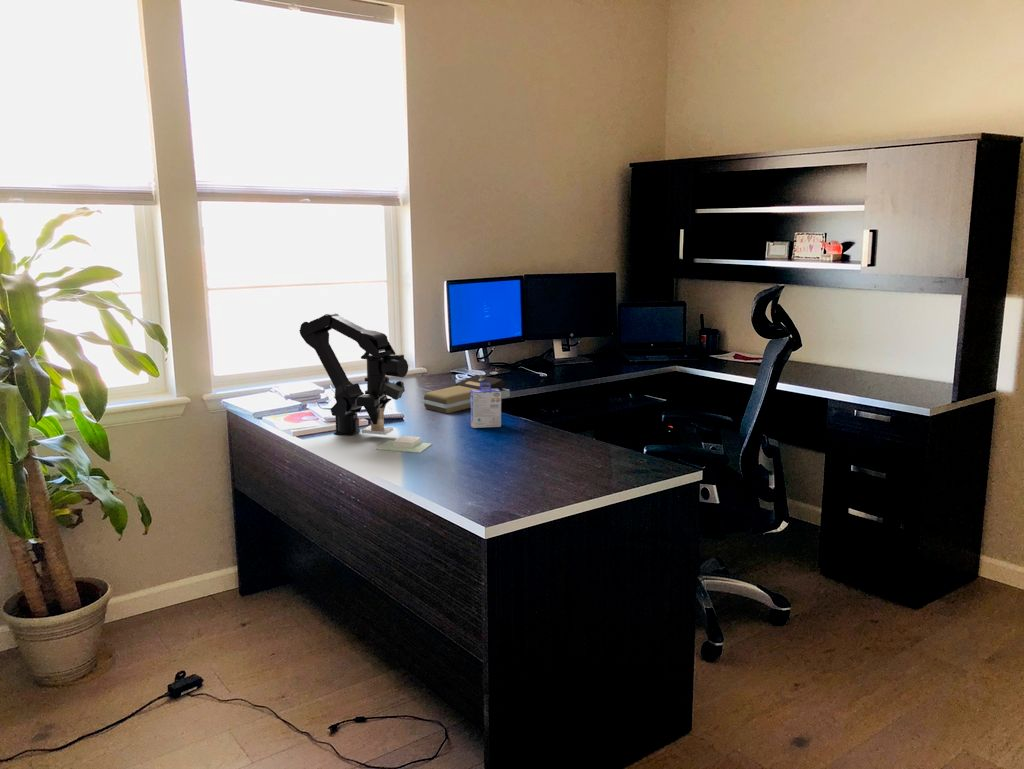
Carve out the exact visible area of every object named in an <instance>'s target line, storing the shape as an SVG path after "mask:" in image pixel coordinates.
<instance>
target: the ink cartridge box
mask: <svg viewBox="0 0 1024 769" xmlns="http://www.w3.org/2000/svg"><path fill="white" fill-rule="evenodd" d="M482 385H489V387H482ZM470 392H471V408H470V426H471V428H472V429H480V428H501V427H502V403H501V391H500V390H499V389H491V385H490V383H480V390H470Z"/></svg>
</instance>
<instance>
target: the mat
mask: <svg viewBox="0 0 1024 769" xmlns="http://www.w3.org/2000/svg"><path fill="white" fill-rule="evenodd" d="M394 441H395V440H393V439H392V440H391V439H389V440H386V441H385V442H384V443H382V444H380V445H379V446H378V447H376V450H379V451H391V452H402V453H403V452H404V453H413V454H414V453H415V454H421V453H422V452H424V451H425V450H426V449H428V448H429V447H431V446H432V445H433V443H431V442H430V443H429V442H420V443H418V444H417V445H415V446H414V447H413V448H409V447H397V446H394Z"/></svg>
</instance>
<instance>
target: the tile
mask: <svg viewBox="0 0 1024 769" xmlns="http://www.w3.org/2000/svg"><path fill="white" fill-rule="evenodd" d="M421 440H422V437H421V436H409V435H401V436H400V437H398V438H396V439H395V440H394V446H397V447H409V448H413V447H414V446H415V445H417V444H418V443H422V441H421Z"/></svg>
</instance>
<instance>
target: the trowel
mask: <svg viewBox="0 0 1024 769" xmlns="http://www.w3.org/2000/svg"><path fill="white" fill-rule="evenodd" d="M384 414H385V409H384V408H381V407H379V411H378V420H377V424H373V422H372V420H371V419H370V425H368V426H366V427H365V428H362V429H361V434H372V435H382V436H383V435H384V436H387V435H388V434H390V433H391V432H393V431H394V427H393V426H385V415H384Z"/></svg>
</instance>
